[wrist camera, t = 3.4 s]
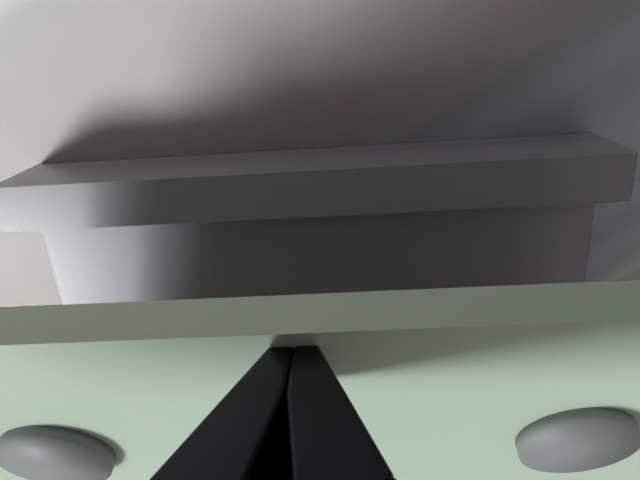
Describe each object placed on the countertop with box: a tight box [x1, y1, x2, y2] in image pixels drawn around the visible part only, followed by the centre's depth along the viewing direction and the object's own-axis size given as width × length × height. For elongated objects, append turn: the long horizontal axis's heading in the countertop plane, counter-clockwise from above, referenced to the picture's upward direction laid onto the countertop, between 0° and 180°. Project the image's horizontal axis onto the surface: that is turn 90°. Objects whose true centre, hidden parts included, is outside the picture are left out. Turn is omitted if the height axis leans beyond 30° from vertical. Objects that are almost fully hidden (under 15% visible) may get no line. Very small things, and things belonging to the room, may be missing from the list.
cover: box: [0, 280, 640, 480], centre depth 13 cm, size 12×16×1 cm
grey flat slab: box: [0, 133, 638, 305], centre depth 16 cm, size 12×16×2 cm
